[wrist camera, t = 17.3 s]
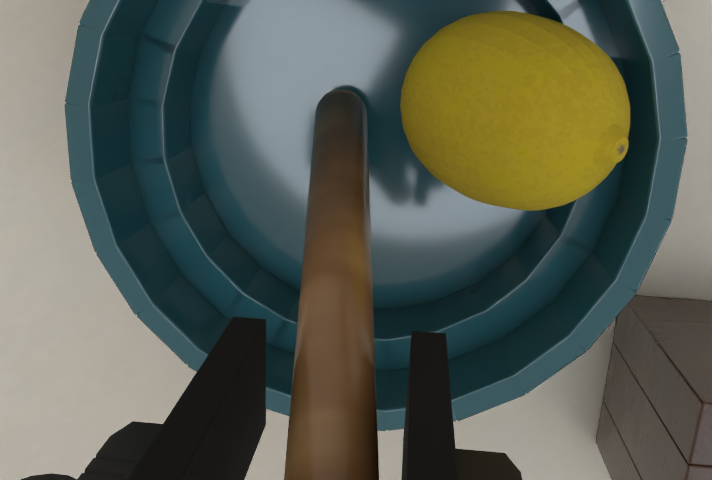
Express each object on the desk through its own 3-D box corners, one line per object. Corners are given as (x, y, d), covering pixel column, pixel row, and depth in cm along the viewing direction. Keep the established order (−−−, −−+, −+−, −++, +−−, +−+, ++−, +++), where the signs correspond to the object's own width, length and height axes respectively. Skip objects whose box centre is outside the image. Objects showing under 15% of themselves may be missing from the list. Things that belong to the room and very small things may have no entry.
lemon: (492, 2, 24) (714, 45, 18) (459, 156, 26) (647, 238, 20) (366, -16, 20) (587, 30, 15) (339, 162, 22) (524, 264, 17)
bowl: (132, -143, 23) (38, -199, 18) (664, -128, 22) (749, -183, 16) (155, 329, 29) (88, 405, 23) (585, 364, 27) (628, 453, 22)
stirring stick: (314, 122, 25) (251, 851, 10) (318, 77, 24) (255, 821, 8) (363, 127, 25) (380, 854, 10) (370, 82, 24) (400, 825, 9)
